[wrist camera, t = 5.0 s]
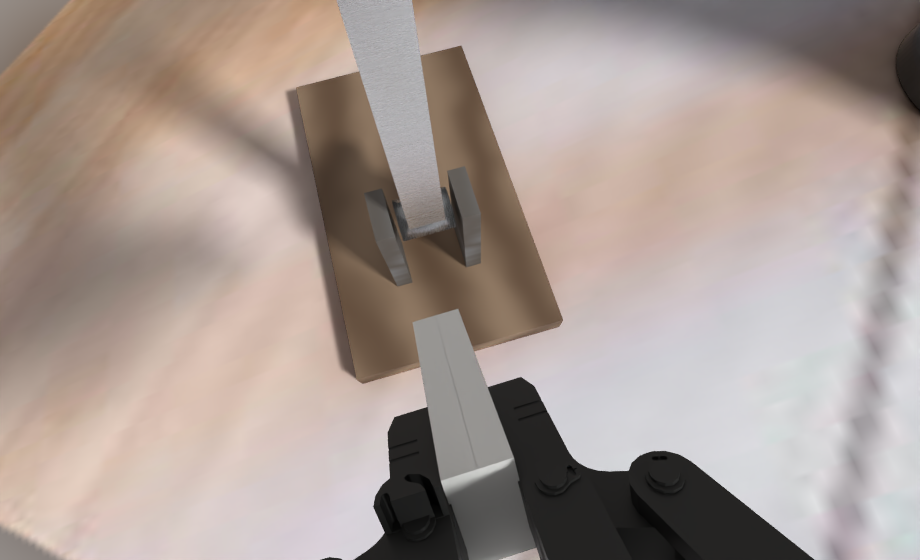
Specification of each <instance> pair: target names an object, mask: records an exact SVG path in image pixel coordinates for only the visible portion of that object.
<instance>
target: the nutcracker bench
mask: <svg viewBox="0 0 920 560" xmlns="http://www.w3.org/2000/svg"><path fill="white" fill-rule="evenodd" d="M420 57H421V63H422V70H423V77H424V83H425V90H426V96H427V103H428V109H429V116H430V122H431V129H432V135H433V142H434V148H435V155H436V162H437V168H438V175H439V181H440V187H444V186H445V187H446V190H447V193H448V196H449V199H450V202H451V206H452V210H453V214H454V218H455V223H456V227H455V228H451V229H447V230H444V231H440V232H436V233H433V234H429V235H425V236H422V237H418V238H415V239H411V240H407V241H403V238H402V235H401V232H400V229H399V226H398V222H397V219H396V215H395V211H394V208H393V204H392V200H396V199H399V195H398V192H397V189H396V186H395V182H394V179H393V176H392V173H391V170H390V167H389V164H388V160H387V157H386V154H385V151H384V148H383V145H382V142H381V138H380V135H379V132H378V129H377V126H376V123H375V119H374V116H373V113H372V110H371V107H370V104H369V101H368V97H367V94H366V91H365V88H364V85H363V82H362V79H361V75H360V72H356V73H352V74H348V75H344V76H340V77H336V78H332V79H328V80H324V81H320V82H316V83H312V84H309V85H305V86H301V87H297V88H296V91H297V95H298V100H299V105H300V110H301V115H302V119H303V124H304V129H305V134H306V139H307V143H308V148H309V153H310V158H311V163H312V167H313V172H314V177H315V182H316V187H317V191H318V196H319V201H320V206H321V211H322V215H323V220H324V225H325V230H326V235H327V239H328V244H329V249H330V254H331V259H332V263H333V268H334V273H335V278H336V283H337V287H338V292H339V297H340V302H341V307H342V311H343V316H344V321H345V326H346V331H347V336H348V340H349V345H350V350H351V355H352V360H353V364H354V369H355V374H356V379H357V380H358V381H359V382H361V383H367V382H370V381H374V380H377V379H381V378H384V377H388V376H391V375H394V374H398V373H401V372H405V371H408V370H412V369H415V368H419V367H420V361H419V356H418V350H417V344H416V339H415V333H414V327H413V322H415V321H418V320H422V319H425V318H428V317H432V316H435V315H439V314H442V313H445V312H449V311H452V310H456V309H458V310H459V313H460V315H461V318H462V321H463V323H464V326H465V329H466V331H467V334H468V337H469V339H470V342H471V345H472V347H473V350H474V351H477V350H481V349H484V348H487V347H491V346H494V345H498V344H501V343H505V342H508V341H512V340H515V339H518V338H522V337H525V336H529V335H532V334H536V333H539V332H543V331H546V330H549V329H553V328H556V327H559V326H560V324H561V323H562V321H563V319H562V316H561V313H560V311H559V308H558V305H557V302H556V300H555V297H554V294H553V292H552V289H551V286H550V284H549V281H548V278H547V275H546V273H545V270H544V267H543V265H542V262H541V259H540V257H539V254H538V251H537V248H536V246H535V243H534V240H533V238H532V235H531V232H530V230H529V227H528V224H527V221H526V219H525V216H524V213H523V211H522V208H521V205H520V203H519V200H518V197H517V194H516V192H515V189H514V186H513V184H512V181H511V178H510V176H509V173H508V170H507V168H506V165H505V162H504V159H503V157H502V154H501V151H500V149H499V146H498V143H497V141H496V138H495V135H494V132H493V130H492V127H491V124H490V122H489V119H488V116H487V114H486V111H485V108H484V105H483V103H482V100H481V97H480V95H479V92H478V89H477V87H476V84H475V81H474V78H473V76H472V73H471V70H470V68H469V65H468V62H467V60H466V57H465V54H464V51H463V49H462V46H458V47H454V48H450V49H446V50H442V51H438V52H434V53H431V54H427V55H423V56H420Z"/></svg>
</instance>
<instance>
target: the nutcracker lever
mask: <svg viewBox="0 0 920 560" xmlns="http://www.w3.org/2000/svg"><path fill="white" fill-rule="evenodd" d="M337 3H338V6H339V9H340V12H341V16H342V19H343V22H344V25H345V28H346V31H347V34H348V38H349V41H350V44H351V47H352V50H353V53H354V57H355V60H356V63H357V66H358V69H359V72H360V75H361V79H362V82H363V85H364V88H365V91H366V94H367V97H368V101H369V104H370V107H371V110H372V113H373V116H374V119H375V123H376V126H377V129H378V132H379V135H380V138H381V142H382V145H383V148H384V151H385V154H386V157H387V160H388V164H389V167H390V170H391V173H392V176H393V179H394V182H395V186H396V189H397V192H398V195H399V199H396V200H392V204H393V208H394V211H395V215H396V219H397V222H398V226H399V229H400V232H401V235H402V238H403V241H407V240H411V239H415V238H418V237H422V236H425V235H429V234H433V233H436V232H440V231H444V230H447V229H451V228H455V227H456V223H455V218H454V214H453V210H452V206H451V202H450V199H449V196H448V193H447V190H446V187H445V186H444V187H440V181H439V175H438V168H437V162H436V155H435V148H434V142H433V135H432V129H431V122H430V116H429V109H428V103H427V96H426V90H425V83H424V77H423V70H422V63H421V57H420V50H419V44H418V37H417V31H416V24H415V18H414V11H413V5H412V0H337Z"/></svg>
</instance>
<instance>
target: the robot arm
mask: <svg viewBox="0 0 920 560" xmlns="http://www.w3.org/2000/svg"><path fill="white" fill-rule="evenodd" d="M897 72H898V76H899V79H900V82H901V84H902V86H903V88H904V90H905V92H906V94H907V95H908V96H909V98H910V99H911V101H912V102H913V103H914V104H915V105H916V106H917V108H918V109H919V110H920V23H919V24H918V25H917V26H916V27H915V28H914V29H913V30H912V31H911V32H910V33H909V34H908V35H907V36H906V37H905V39H904V40H903V41H902V43H901V45H900V47H899V50H898V54H897ZM413 327H414V333H415V339H416V344H417V350H418V356H419V361H420V367H421V373H422V378H423V384H424V390H425V395H426V401H427V407H426V408H423V409H420V410H416V411H413V412H410V413H407V414H403V415H400V416H397V417H394V420H393V422H392V424H391V426H390V429H389V431H388V448H389V462H390V464H389V467H390V479H389V480H388V481H386V482H385V483H384V484H383V485H382V486H381V488H380V490H379V491H378V493H377V494H376V496H375V501H374V506H373V507H374V509H375V512H376V514H377V516H378V518H379V521H380V523H381V525H382V527H383V529H384V532H385V533H384V535H383V536H382V537H381V539H380V540H379V541H378V542H377V543H376V544H375V545H374V546H373V547H371V548H370V549H369V550H368V551H366V552H365V553H363V554H362V555H360V556H359V557H357V558H356V559H354V560H500V559H503V558H506V557H509V556H512V555H515V554H518V553H521V552H524V551H527V550H530V549H533V548H536V547H537V550H538V553H539V556H540V560H814V559H813V558H812V557H810V556H809V555H808V554H807V553H805V552H804V551H803V550H802V549H800V548H799V547H798V546H797V545H795V544H794V543H793V542H792V541H790V540H789V539H788V538H786V537H785V536H784V535H783V534H781V533H780V532H779V531H778V530H776V529H775V528H774V527H773V526H771V525H770V524H769V523H768V522H766V521H765V520H764V519H763V518H761V517H760V516H759V515H758V514H756V513H755V512H754V511H753V510H751V509H750V508H749V507H748V506H746V505H745V504H744V503H743V502H741V501H740V500H739V499H738V498H736V497H735V496H734V495H732V494H731V493H730V492H729V491H727V490H726V489H725V488H724V487H722V486H721V485H720V484H719V483H717V482H716V481H715V480H714V479H712V478H711V477H710V476H709V475H707V474H706V473H705V472H704V471H702V470H701V469H700V468H699V467H697V466H696V465H695V464H694V463H692V462H691V461H689V460H688V459H686V458H684V457H682V456H681V455H679V454H675V453H671V452H667V451H652V452H649V453H646V454H643V455H641V456H639V457H638V458H637V459H636V460H635V461H633V462H632V464H631V466H630V469H629V471H612V472H608V471H597V470H593V469H589V468H587V467H585V466H583V465H581V464H579V463H578V462H577V461H576V460H574V459H573V457H572V456H571V455H570V453H569V452H568V450H567V448H566V446H565V444H564V442H563V440H562V438H561V436H560V435H559V433H558V431H557V429H556V427H555V425H554V423H553V421H552V419H551V417H550V415H549V413H548V412H547V410H546V408H545V406H544V404H543V402H542V401H541V398H540V396H539V394H538V392H537V391H536V389H535V387H534V386H533V385H532V384H530V383H529V382H527V381H526V380H524V379H523V378H522V377H520V378H516V379H513V380H510V381H507V382H503V383H500V384H497V385H494V386H490V387H487V385H486V382H485V379H484V377H483V374H482V371H481V369H480V366H479V363H478V361H477V358H476V355H475V353H474V350H473V347H472V345H471V342H470V339H469V337H468V334H467V331H466V329H465V326H464V323H463V321H462V318H461V315H460V313H459V310H458V309H456V310H452V311H449V312H445V313H442V314H439V315H435V316H432V317H428V318H425V319H422V320H418V321H415V322H413ZM322 560H342V559H340V558H331V557H329V558H325V559H322Z"/></svg>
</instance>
